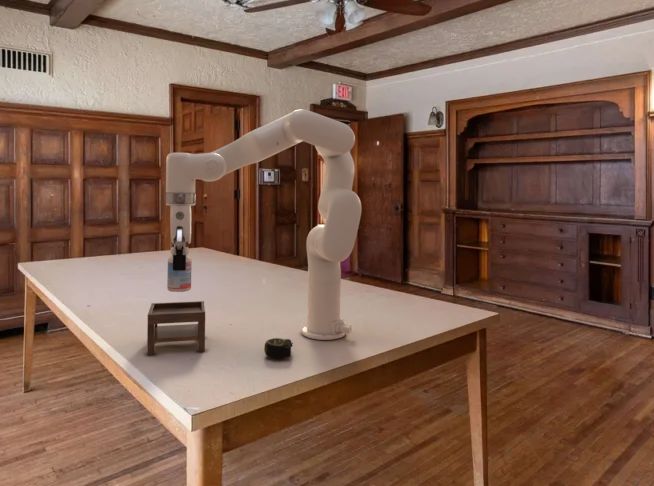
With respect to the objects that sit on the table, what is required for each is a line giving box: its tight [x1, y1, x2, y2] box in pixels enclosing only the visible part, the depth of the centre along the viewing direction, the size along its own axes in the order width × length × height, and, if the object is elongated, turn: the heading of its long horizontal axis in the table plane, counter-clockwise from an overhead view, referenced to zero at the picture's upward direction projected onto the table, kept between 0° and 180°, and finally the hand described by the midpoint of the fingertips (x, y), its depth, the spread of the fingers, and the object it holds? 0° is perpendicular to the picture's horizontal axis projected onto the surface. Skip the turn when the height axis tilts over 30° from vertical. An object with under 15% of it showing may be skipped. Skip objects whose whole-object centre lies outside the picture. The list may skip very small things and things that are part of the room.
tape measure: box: [263, 337, 294, 359], centre depth 116 cm, size 7×7×4 cm
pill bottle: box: [166, 246, 192, 293], centre depth 122 cm, size 6×6×11 cm
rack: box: [146, 300, 206, 356], centre depth 122 cm, size 14×12×10 cm
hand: (179, 267), depth 122 cm, fingers closed on pill bottle, 6 cm apart
